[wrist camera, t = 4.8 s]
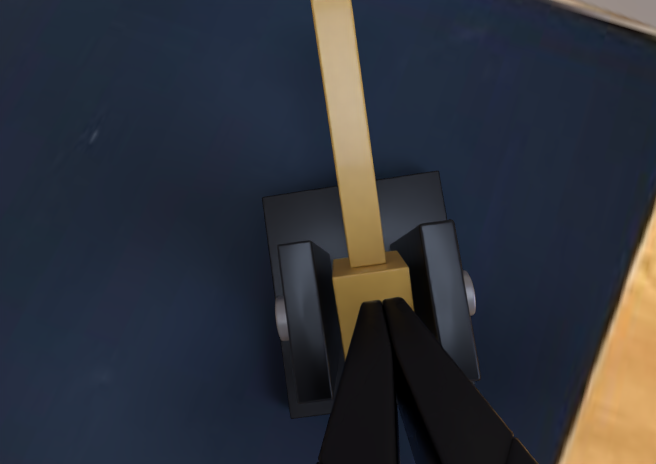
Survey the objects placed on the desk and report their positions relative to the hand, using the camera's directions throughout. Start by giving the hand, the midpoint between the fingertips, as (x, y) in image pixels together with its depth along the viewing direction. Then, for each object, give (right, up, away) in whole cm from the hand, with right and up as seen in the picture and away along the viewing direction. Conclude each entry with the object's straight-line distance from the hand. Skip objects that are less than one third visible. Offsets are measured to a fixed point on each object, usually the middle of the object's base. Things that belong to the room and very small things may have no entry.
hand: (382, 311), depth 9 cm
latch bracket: (+1, -1, +14) cm, 14 cm away
